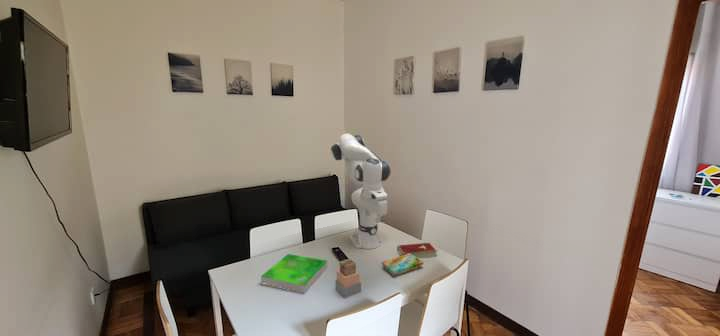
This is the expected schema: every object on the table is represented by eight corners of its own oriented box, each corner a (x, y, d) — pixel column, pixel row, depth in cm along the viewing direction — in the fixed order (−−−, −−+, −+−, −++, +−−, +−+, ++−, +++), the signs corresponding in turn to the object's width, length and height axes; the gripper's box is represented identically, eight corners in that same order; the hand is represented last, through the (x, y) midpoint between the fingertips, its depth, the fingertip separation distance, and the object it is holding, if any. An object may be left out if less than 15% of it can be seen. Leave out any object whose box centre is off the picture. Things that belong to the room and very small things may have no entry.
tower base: (335, 289, 145) (335, 279, 144) (351, 283, 150) (351, 274, 149) (344, 298, 138) (344, 288, 137) (360, 292, 142) (360, 282, 141)
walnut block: (339, 271, 142) (339, 261, 141) (349, 267, 145) (349, 258, 144) (345, 276, 138) (345, 266, 137) (355, 272, 141) (355, 263, 140)
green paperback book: (261, 285, 149) (260, 276, 148) (288, 261, 172) (288, 253, 171) (305, 294, 141) (304, 285, 140) (327, 268, 164) (327, 260, 163)
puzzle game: (381, 260, 163) (410, 252, 172) (381, 268, 164) (410, 259, 173) (393, 270, 153) (423, 260, 162) (393, 278, 154) (423, 268, 163)
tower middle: (336, 279, 144) (336, 270, 143) (351, 275, 148) (351, 265, 147) (344, 287, 137) (344, 278, 136) (359, 282, 141) (359, 273, 140)
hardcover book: (397, 251, 184) (397, 244, 184) (428, 248, 188) (429, 242, 187) (403, 260, 173) (403, 253, 172) (436, 257, 176) (437, 250, 175)
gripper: (356, 188, 151) (356, 213, 153) (378, 198, 134) (378, 226, 136) (366, 186, 154) (366, 211, 157) (389, 195, 137) (389, 224, 139)
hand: (372, 218), depth 146 cm, fingers open, 8 cm apart
